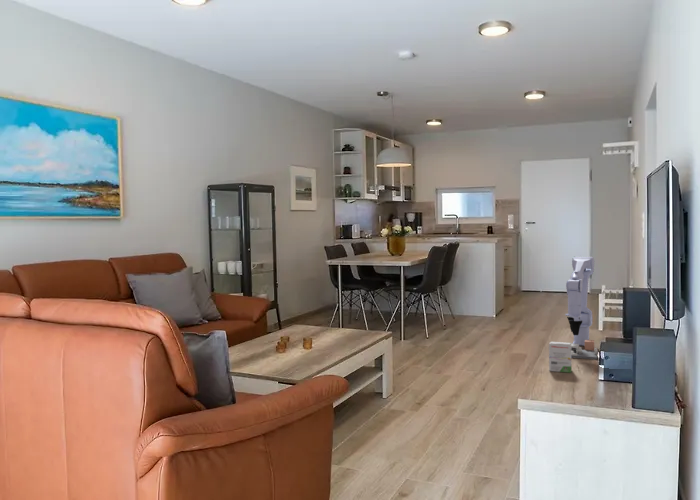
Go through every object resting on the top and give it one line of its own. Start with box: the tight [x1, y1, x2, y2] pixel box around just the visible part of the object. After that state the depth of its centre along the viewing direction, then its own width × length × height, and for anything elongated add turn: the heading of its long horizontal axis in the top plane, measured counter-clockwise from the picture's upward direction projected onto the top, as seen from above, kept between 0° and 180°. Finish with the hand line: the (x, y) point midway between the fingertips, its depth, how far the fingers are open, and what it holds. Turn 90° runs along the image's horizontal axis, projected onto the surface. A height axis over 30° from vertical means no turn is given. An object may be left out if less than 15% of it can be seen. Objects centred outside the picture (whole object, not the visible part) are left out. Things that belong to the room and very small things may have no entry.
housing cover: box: [570, 342, 580, 353], centre depth 273 cm, size 6×5×3 cm
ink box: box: [548, 341, 573, 374], centre depth 243 cm, size 8×5×12 cm, turn 65°
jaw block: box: [584, 339, 595, 350], centre depth 276 cm, size 4×4×5 cm
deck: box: [571, 346, 599, 360], centre depth 269 cm, size 14×14×4 cm
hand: (574, 333), depth 277 cm, fingers open, 7 cm apart
